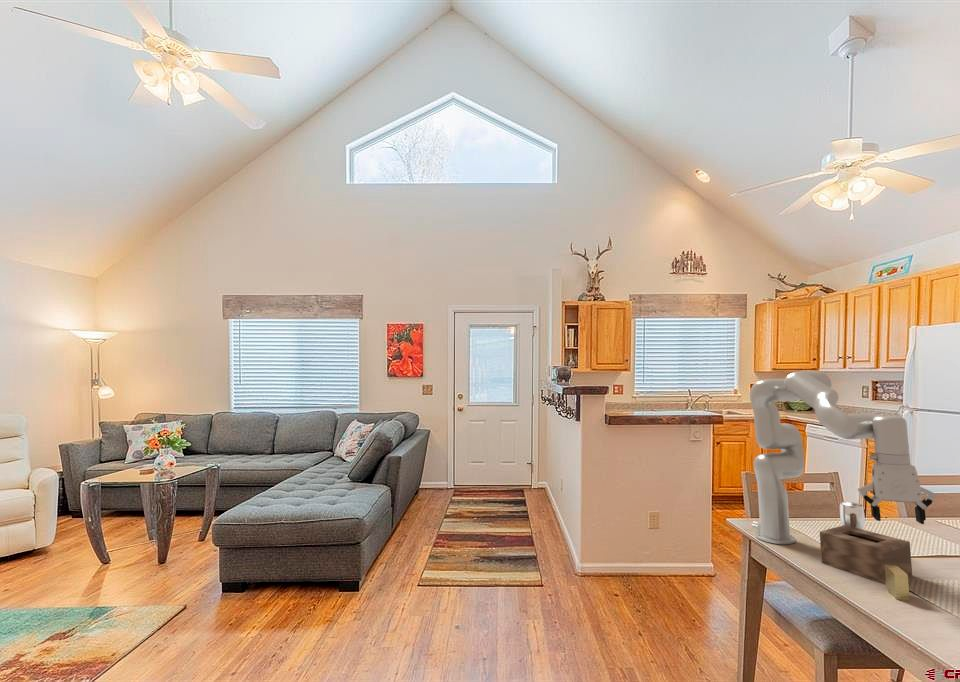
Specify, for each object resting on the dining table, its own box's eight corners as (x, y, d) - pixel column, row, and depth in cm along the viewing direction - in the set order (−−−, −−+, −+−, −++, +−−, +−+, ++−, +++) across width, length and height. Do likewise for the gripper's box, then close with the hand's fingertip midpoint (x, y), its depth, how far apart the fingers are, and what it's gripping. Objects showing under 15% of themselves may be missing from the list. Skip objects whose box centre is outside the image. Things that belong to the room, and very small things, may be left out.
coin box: (821, 562, 157) (819, 531, 158) (846, 555, 163) (844, 525, 163) (886, 584, 141) (884, 549, 141) (912, 575, 146) (909, 541, 147)
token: (886, 590, 137) (884, 565, 138) (899, 591, 136) (897, 566, 137) (896, 599, 132) (894, 573, 132) (909, 601, 131) (907, 574, 131)
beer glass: (861, 544, 172) (858, 502, 173) (871, 551, 165) (867, 507, 166) (838, 543, 174) (835, 501, 175) (847, 550, 167) (844, 506, 168)
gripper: (859, 460, 137) (865, 522, 135) (938, 463, 130) (944, 528, 129) (851, 456, 144) (856, 515, 142) (925, 458, 137) (931, 520, 135)
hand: (898, 521), depth 135 cm, fingers open, 9 cm apart
